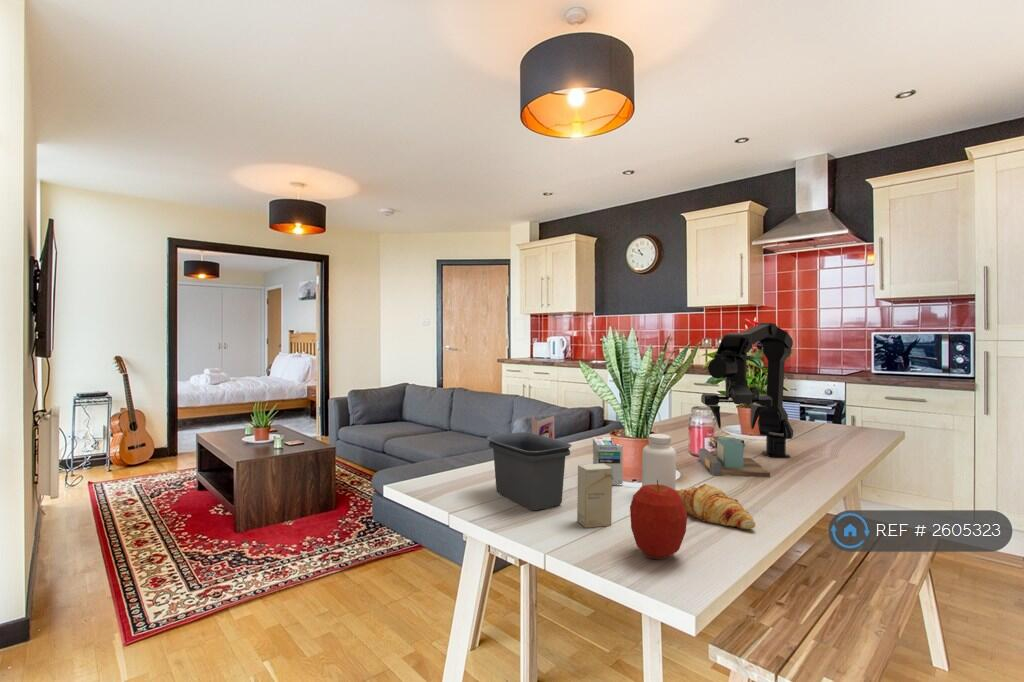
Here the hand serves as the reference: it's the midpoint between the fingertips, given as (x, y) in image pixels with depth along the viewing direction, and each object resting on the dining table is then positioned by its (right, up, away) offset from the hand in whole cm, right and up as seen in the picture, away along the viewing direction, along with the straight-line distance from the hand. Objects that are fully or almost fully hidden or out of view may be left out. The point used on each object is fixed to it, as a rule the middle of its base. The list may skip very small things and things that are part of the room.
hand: (735, 428), depth 150 cm
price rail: (-8, -12, +1) cm, 14 cm away
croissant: (-23, -13, -39) cm, 47 cm away
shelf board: (0, -12, -1) cm, 12 cm away
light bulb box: (-41, -12, -12) cm, 44 cm away
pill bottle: (-31, -12, -26) cm, 42 cm away
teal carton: (-2, -11, 0) cm, 11 cm away
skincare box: (-49, -13, -43) cm, 67 cm away
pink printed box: (-59, -12, -1) cm, 60 cm away
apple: (-40, -13, -59) cm, 73 cm away
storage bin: (-62, -13, -27) cm, 69 cm away
